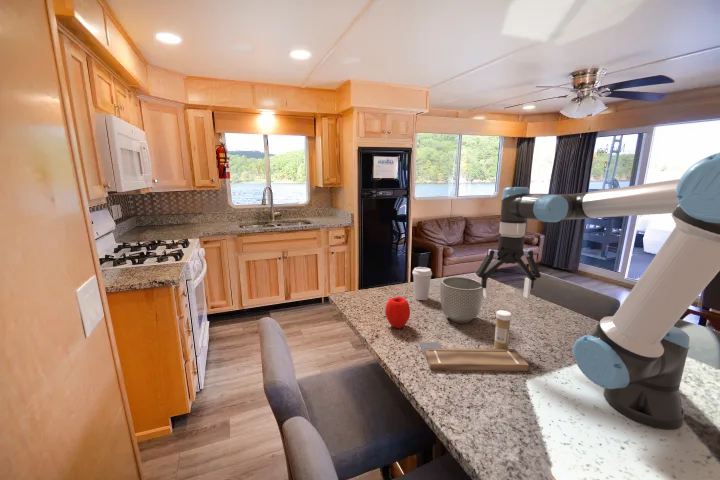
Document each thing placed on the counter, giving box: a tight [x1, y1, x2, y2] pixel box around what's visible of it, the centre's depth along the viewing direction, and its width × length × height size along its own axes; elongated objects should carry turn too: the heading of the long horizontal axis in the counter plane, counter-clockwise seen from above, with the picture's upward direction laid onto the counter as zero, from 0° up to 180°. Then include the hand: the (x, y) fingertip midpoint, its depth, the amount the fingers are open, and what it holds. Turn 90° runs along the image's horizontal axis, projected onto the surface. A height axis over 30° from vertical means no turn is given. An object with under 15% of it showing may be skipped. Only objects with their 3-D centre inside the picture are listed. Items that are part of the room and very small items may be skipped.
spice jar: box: [493, 309, 512, 349], centre depth 105 cm, size 5×5×13 cm
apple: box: [384, 296, 411, 329], centre depth 122 cm, size 10×10×12 cm
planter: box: [439, 276, 484, 324], centre depth 128 cm, size 17×17×16 cm
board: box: [424, 347, 530, 372], centre depth 99 cm, size 9×30×2 cm, turn 89°
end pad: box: [418, 341, 442, 355], centre depth 107 cm, size 7×7×1 cm
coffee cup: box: [412, 266, 433, 301], centre depth 151 cm, size 10×10×15 cm
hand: (505, 297), depth 103 cm, fingers open, 13 cm apart
